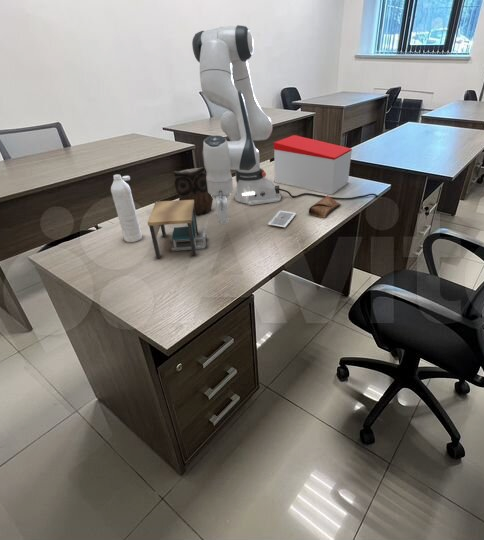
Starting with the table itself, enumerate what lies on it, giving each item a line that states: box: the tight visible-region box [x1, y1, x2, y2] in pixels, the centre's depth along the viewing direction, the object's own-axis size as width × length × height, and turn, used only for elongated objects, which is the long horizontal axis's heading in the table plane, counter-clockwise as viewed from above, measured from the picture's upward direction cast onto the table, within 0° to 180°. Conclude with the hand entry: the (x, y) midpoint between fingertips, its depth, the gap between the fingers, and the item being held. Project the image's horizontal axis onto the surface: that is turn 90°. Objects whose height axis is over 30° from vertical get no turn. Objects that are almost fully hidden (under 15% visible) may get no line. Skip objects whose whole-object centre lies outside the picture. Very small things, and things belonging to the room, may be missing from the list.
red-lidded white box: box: [273, 134, 353, 195], centre depth 182 cm, size 21×35×21 cm, turn 57°
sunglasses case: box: [308, 194, 342, 218], centre depth 156 cm, size 18×7×7 cm, turn 148°
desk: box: [147, 199, 199, 260], centre depth 125 cm, size 14×18×14 cm
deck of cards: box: [267, 210, 297, 228], centre depth 146 cm, size 8×15×2 cm, turn 160°
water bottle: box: [110, 173, 143, 243], centre depth 126 cm, size 9×6×25 cm
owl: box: [173, 166, 214, 217], centre depth 148 cm, size 13×13×20 cm
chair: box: [171, 212, 207, 252], centre depth 126 cm, size 12×8×12 cm, turn 99°
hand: (224, 222), depth 126 cm, fingers closed
